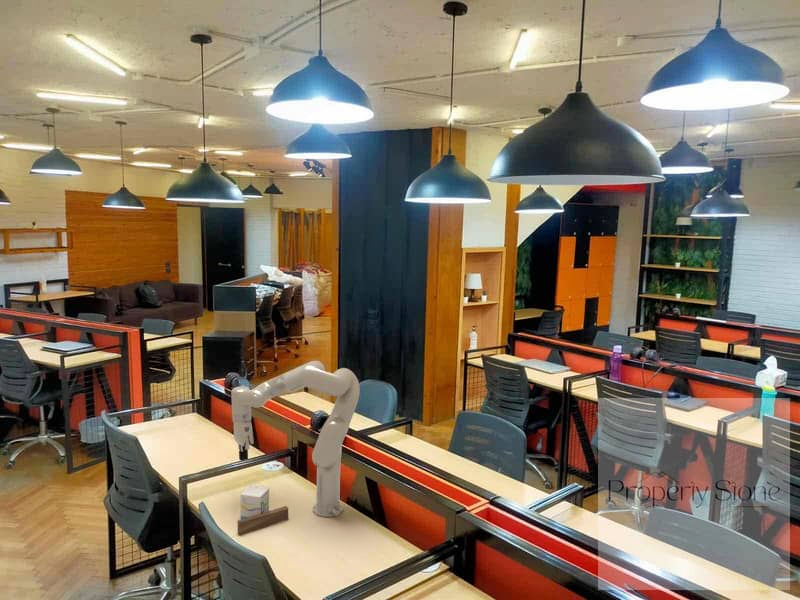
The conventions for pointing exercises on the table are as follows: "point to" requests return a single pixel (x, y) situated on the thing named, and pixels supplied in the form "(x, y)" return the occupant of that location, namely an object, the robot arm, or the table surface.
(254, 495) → the ink box
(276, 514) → the board
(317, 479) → the robot arm
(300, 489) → the table surface
